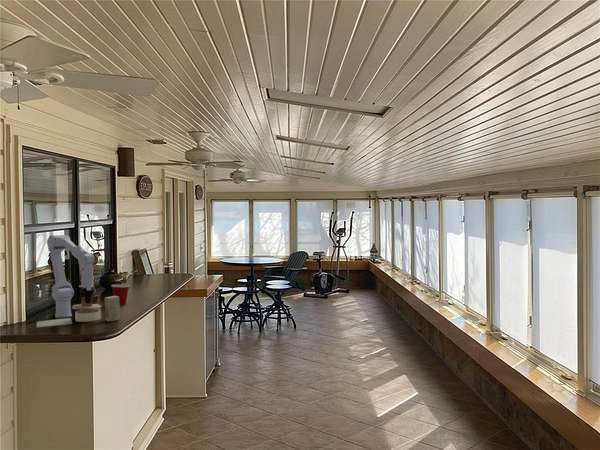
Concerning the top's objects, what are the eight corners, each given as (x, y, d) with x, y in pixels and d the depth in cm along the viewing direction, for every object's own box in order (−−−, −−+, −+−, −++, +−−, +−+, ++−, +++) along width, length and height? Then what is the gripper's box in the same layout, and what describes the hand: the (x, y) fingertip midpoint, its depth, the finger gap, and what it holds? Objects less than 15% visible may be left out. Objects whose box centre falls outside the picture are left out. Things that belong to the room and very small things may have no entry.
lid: (70, 306, 275) (71, 295, 275) (99, 305, 282) (99, 295, 282) (73, 310, 263) (73, 299, 263) (102, 309, 270) (103, 298, 270)
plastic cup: (131, 305, 316) (130, 285, 315) (112, 306, 312) (111, 286, 311) (129, 302, 326) (129, 283, 325) (111, 303, 322) (110, 284, 321)
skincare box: (115, 318, 275) (115, 295, 274) (120, 319, 272) (119, 296, 272) (104, 320, 270) (104, 297, 269) (109, 321, 267) (108, 297, 267)
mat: (36, 322, 269) (36, 321, 269) (70, 318, 277) (70, 318, 277) (36, 328, 255) (36, 327, 255) (72, 324, 262) (72, 323, 262)
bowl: (75, 319, 276) (74, 310, 276) (99, 316, 281) (99, 308, 281) (76, 323, 265) (76, 314, 265) (101, 320, 270) (101, 311, 270)
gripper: (77, 275, 277) (78, 301, 277) (80, 278, 264) (81, 305, 265) (91, 274, 280) (92, 300, 281) (95, 277, 268) (95, 304, 268)
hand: (87, 302), depth 273 cm, fingers closed on lid, 3 cm apart
